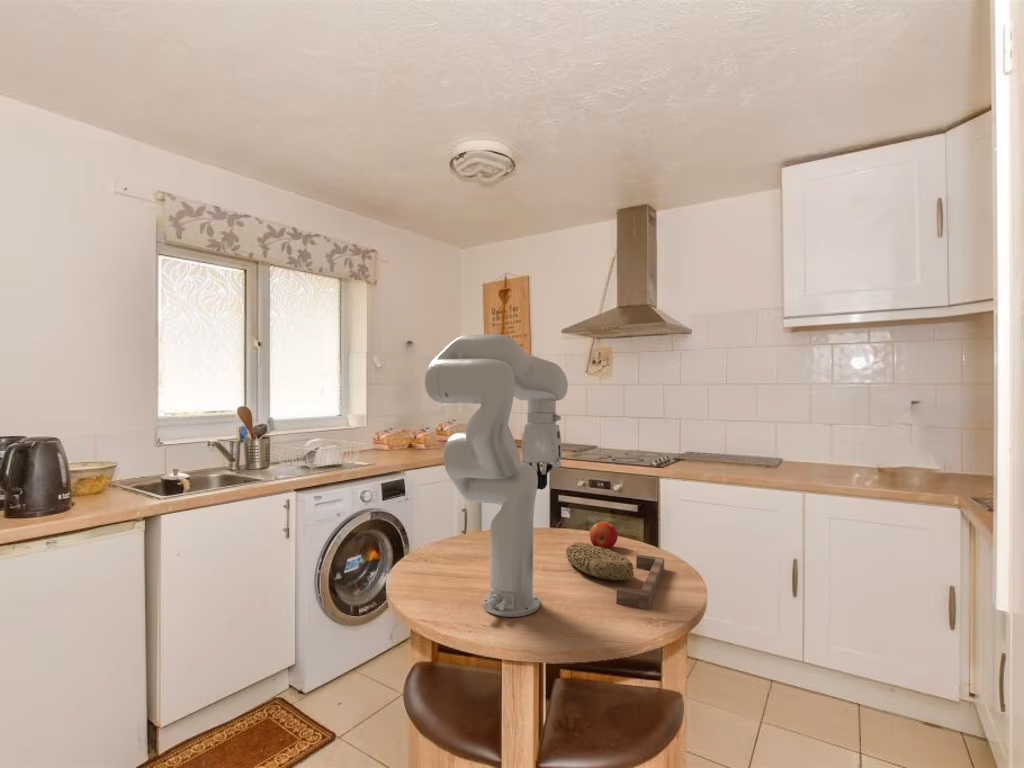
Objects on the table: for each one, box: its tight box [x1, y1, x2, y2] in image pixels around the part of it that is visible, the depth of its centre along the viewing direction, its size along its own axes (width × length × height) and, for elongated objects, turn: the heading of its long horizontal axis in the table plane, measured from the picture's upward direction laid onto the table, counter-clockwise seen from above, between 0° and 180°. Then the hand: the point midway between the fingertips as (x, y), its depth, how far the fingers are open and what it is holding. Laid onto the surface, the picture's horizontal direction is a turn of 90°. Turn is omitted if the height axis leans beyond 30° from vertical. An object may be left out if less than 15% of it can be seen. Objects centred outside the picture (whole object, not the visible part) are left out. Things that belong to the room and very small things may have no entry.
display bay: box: [615, 554, 665, 610], centre depth 124 cm, size 27×7×3 cm, turn 156°
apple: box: [589, 520, 619, 549], centre depth 152 cm, size 8×8×8 cm
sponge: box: [565, 541, 635, 581], centre depth 132 cm, size 13×8×20 cm
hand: (540, 488), depth 135 cm, fingers closed
